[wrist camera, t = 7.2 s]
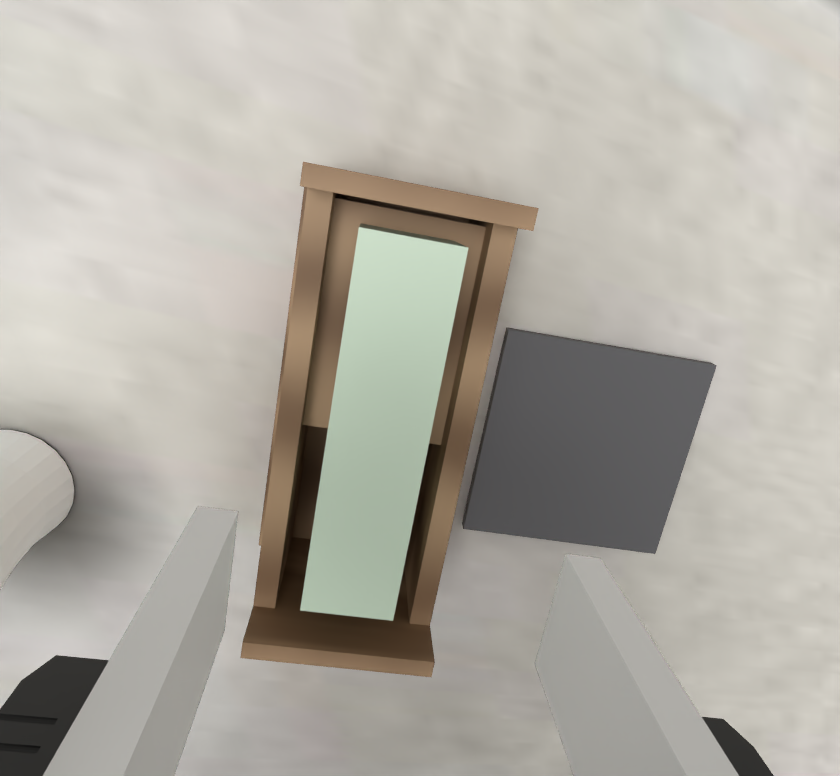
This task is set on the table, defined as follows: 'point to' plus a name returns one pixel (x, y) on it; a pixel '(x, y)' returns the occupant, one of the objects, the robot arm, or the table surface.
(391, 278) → the sage bar
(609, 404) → the rubber mat
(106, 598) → the table surface
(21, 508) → the cup
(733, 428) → the table surface
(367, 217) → the wooden rack
